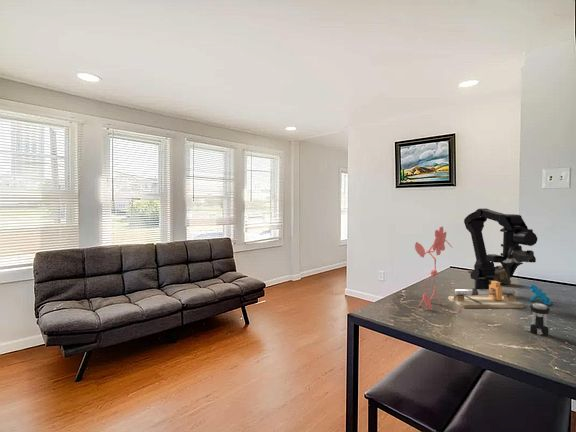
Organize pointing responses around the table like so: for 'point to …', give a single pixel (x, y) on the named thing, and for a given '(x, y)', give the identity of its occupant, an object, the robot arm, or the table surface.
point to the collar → (498, 290)
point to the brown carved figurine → (499, 275)
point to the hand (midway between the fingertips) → (509, 277)
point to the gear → (540, 295)
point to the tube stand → (485, 299)
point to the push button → (539, 319)
